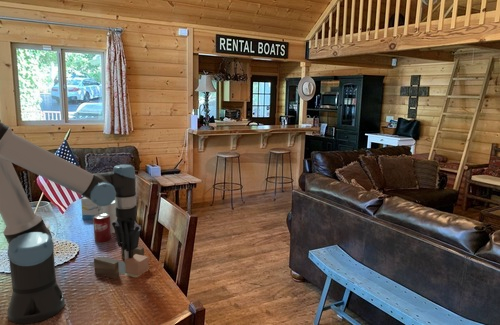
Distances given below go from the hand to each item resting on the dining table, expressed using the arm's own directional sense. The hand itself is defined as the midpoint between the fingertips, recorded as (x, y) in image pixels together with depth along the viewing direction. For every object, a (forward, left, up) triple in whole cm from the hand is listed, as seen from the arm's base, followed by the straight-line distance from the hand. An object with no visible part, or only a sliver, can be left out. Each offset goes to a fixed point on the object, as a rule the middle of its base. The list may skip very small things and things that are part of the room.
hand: (128, 264), depth 141 cm
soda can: (+17, +31, -2) cm, 35 cm away
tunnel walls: (0, +4, -2) cm, 5 cm away
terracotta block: (0, -4, -2) cm, 4 cm away
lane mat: (0, +5, -2) cm, 6 cm away
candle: (+28, +37, -2) cm, 46 cm away
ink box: (+40, +62, -2) cm, 74 cm away
